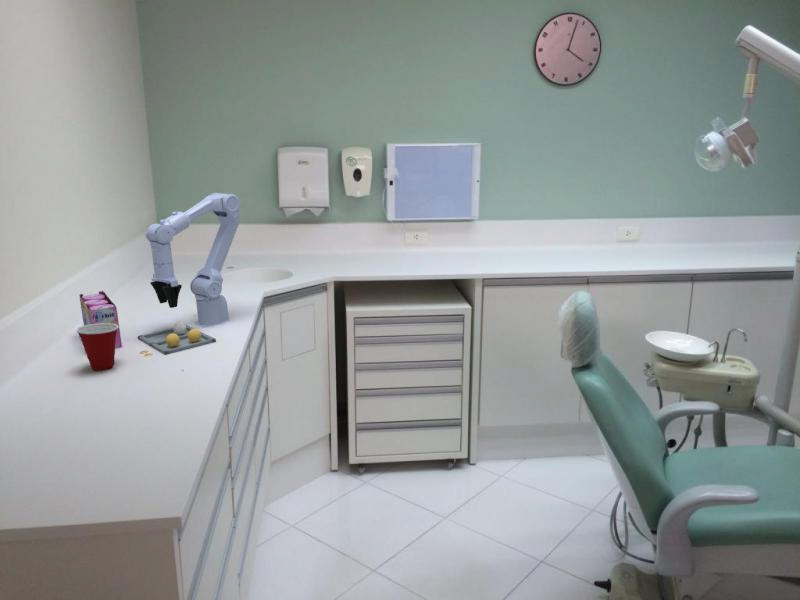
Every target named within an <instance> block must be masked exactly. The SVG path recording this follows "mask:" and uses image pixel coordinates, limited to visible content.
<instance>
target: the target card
mask: <svg viewBox="0 0 800 600" xmlns="http://www.w3.org/2000/svg"><path fill="white" fill-rule="evenodd" d="M139 354H144V355H143V356H144V357H151V356H153V355H154V354H153V353H149V351H148V350H142V351H139Z"/></svg>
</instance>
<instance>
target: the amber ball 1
mask: <svg viewBox="0 0 800 600" xmlns="http://www.w3.org/2000/svg"><path fill="white" fill-rule="evenodd" d="M179 342H180V338H179V336H178V335H177V334H169V335H168V336H167V337H166V343H167V345H168V346H170V347H175V346H177V345H178V344H179Z"/></svg>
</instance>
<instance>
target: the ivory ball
mask: <svg viewBox="0 0 800 600" xmlns="http://www.w3.org/2000/svg"><path fill="white" fill-rule="evenodd" d="M186 325H187V324H186V323H185V322H182V321H177V322H176V323H174V325H173V327H172V328H173V330H174V332H175V333H176V334H179V335H180V334H183V333H185V331H186Z"/></svg>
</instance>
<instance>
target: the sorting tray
mask: <svg viewBox="0 0 800 600" xmlns="http://www.w3.org/2000/svg"><path fill="white" fill-rule="evenodd" d="M185 325H186V331H185V333H183V334H180V335H179V334H177V335H178V336H179V338H180V342H179V344H178V345H177V346H175V347H170V346H168V345H167V343H166V337H167V336H168V335H169V334H176V333H175V332H174V330H173V327H171V328H168V329H167V328H166V329H162V330H157V331H154V332H149V333H146V334H145V333H144V334H142V335H137V339H138V340H139V341H141V342H143V343H144V344H146V345H148V346H149V347H151V348H152V349H154V350H156V351H157V352H159V353H160V354H162V355H165V356H167V355H171V354H176V353H179V352H183V351H187V350H191V349H195V348H198V347H202V346H206V345H210V344H214V343H217V338H214V337H212V336H210V335H209V334H207V333H204V332H202V331H200V333H201V338H200V340H199V341H197V342H192V341H190V340H189V339H188V336H187V335H188V332H189V331H190V330H192V329H195V328H194V327H192V326H190V325H188V324H185Z"/></svg>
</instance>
